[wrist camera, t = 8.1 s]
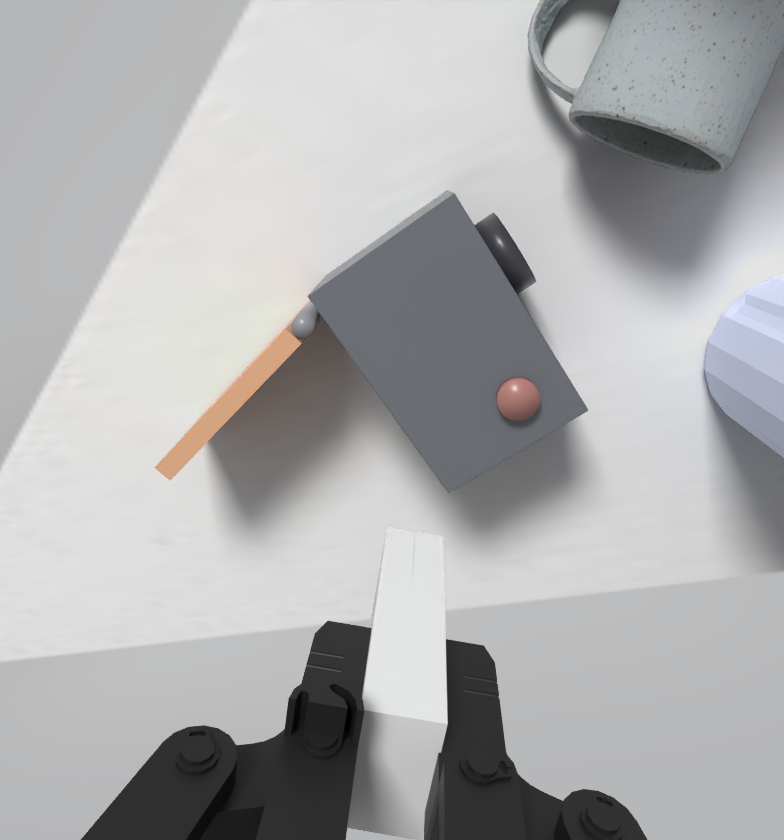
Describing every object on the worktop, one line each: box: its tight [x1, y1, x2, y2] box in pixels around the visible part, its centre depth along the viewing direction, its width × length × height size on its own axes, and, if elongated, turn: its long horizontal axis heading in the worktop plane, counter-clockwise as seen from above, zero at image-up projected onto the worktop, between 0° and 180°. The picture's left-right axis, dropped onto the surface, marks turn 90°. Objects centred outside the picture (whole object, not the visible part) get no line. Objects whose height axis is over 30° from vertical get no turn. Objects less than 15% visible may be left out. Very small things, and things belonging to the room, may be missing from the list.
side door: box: [155, 301, 322, 480], centre depth 36 cm, size 11×1×7 cm, turn 136°
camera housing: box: [308, 190, 588, 493], centre depth 35 cm, size 12×9×8 cm
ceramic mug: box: [528, 0, 784, 174], centre depth 30 cm, size 11×8×8 cm
